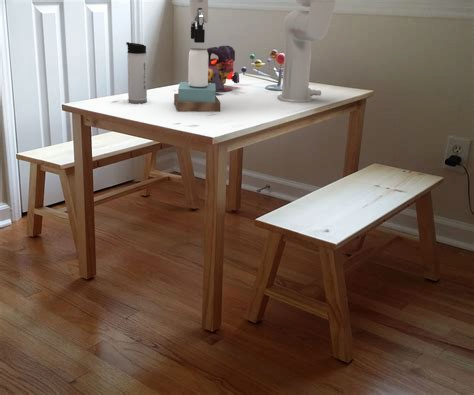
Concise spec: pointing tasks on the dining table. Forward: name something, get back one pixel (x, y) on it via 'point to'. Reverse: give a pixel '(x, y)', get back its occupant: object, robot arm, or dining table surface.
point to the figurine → (221, 67)
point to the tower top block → (196, 93)
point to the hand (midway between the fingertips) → (197, 40)
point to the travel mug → (137, 73)
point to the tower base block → (196, 105)
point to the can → (198, 67)
